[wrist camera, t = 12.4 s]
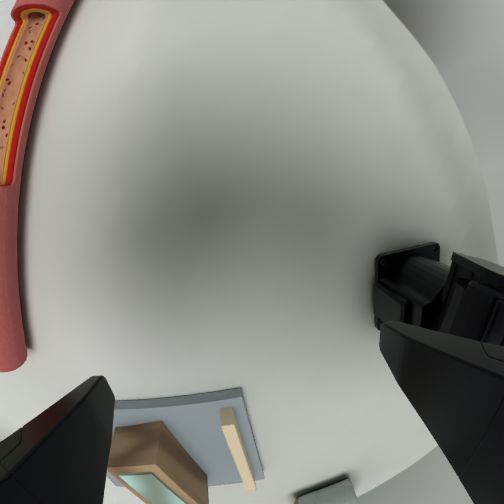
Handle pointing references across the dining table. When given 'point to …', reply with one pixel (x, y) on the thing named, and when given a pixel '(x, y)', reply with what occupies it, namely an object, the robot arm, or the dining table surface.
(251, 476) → the grey flat panel
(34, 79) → the blood vessel
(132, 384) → the dining table surface
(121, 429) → the frame
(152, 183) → the dining table surface
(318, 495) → the ceramic mug
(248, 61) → the dining table surface
